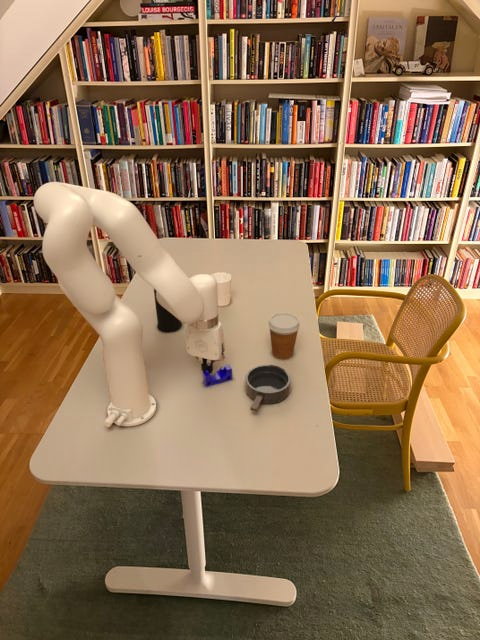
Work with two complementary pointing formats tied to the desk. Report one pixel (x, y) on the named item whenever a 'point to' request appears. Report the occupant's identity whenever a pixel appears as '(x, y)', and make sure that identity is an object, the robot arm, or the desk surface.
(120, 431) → the desk surface
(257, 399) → the pan handle
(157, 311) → the aerosol can
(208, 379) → the cable holder
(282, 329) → the disposable coffee cup
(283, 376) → the pan
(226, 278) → the white cup
